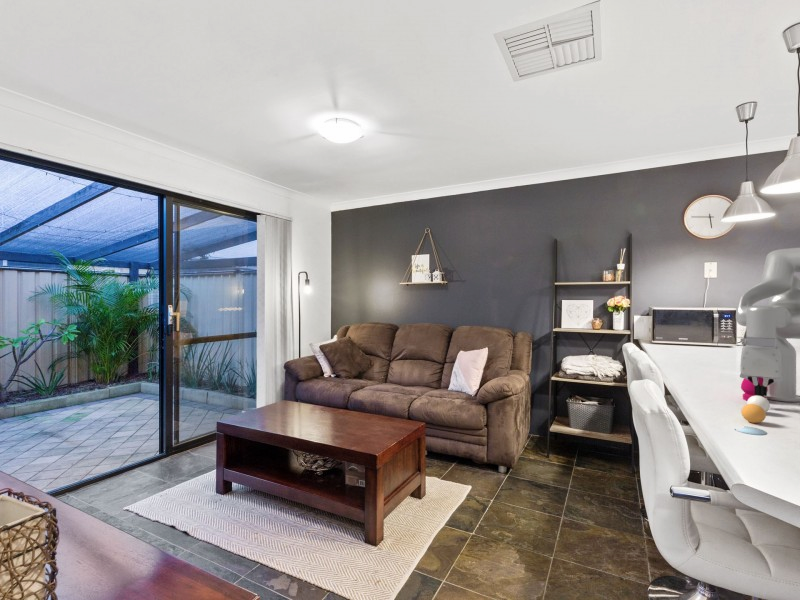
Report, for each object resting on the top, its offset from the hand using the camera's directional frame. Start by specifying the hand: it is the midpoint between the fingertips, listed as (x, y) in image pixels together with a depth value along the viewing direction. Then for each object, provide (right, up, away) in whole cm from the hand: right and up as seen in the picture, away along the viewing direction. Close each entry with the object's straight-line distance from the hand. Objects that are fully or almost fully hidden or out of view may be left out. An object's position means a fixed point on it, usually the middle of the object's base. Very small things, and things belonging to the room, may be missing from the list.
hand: (760, 397), depth 135 cm
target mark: (-23, -4, -22) cm, 32 cm away
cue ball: (-6, -1, -6) cm, 8 cm away
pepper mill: (+6, -4, +9) cm, 12 cm away
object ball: (-16, -1, -15) cm, 22 cm away
